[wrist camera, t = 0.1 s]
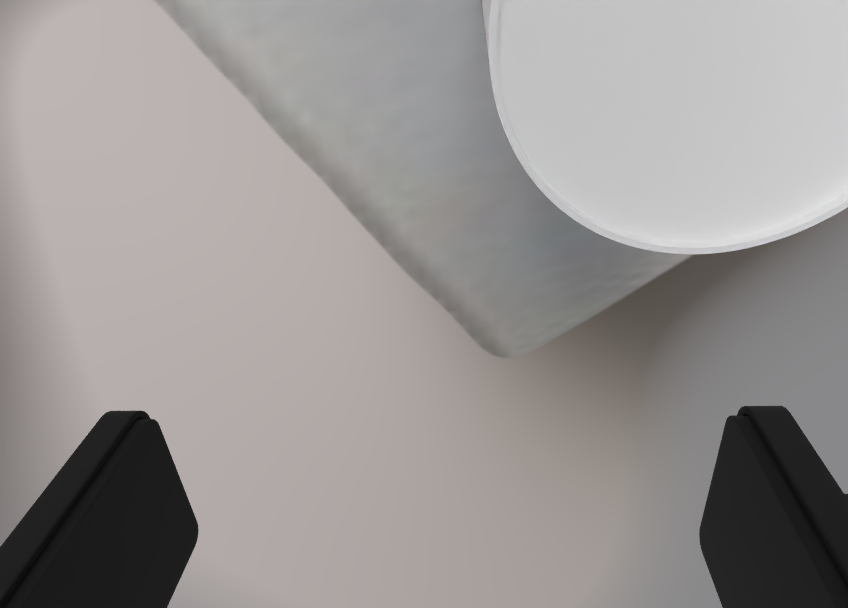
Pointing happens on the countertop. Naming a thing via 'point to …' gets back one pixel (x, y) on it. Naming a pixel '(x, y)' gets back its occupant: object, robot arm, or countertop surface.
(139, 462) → the robot arm
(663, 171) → the canister
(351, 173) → the countertop surface
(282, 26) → the countertop surface
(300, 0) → the countertop surface
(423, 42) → the countertop surface
